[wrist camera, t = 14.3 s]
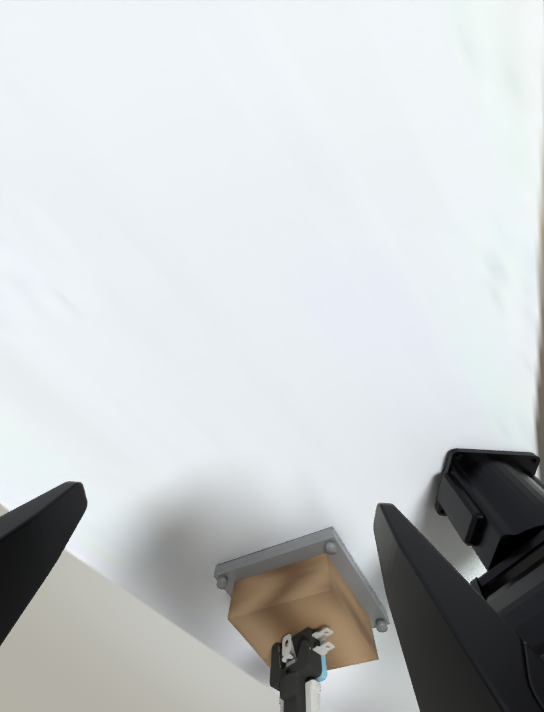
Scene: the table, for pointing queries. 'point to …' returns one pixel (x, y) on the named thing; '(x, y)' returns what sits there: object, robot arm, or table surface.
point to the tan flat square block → (303, 611)
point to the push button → (300, 669)
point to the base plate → (300, 551)
